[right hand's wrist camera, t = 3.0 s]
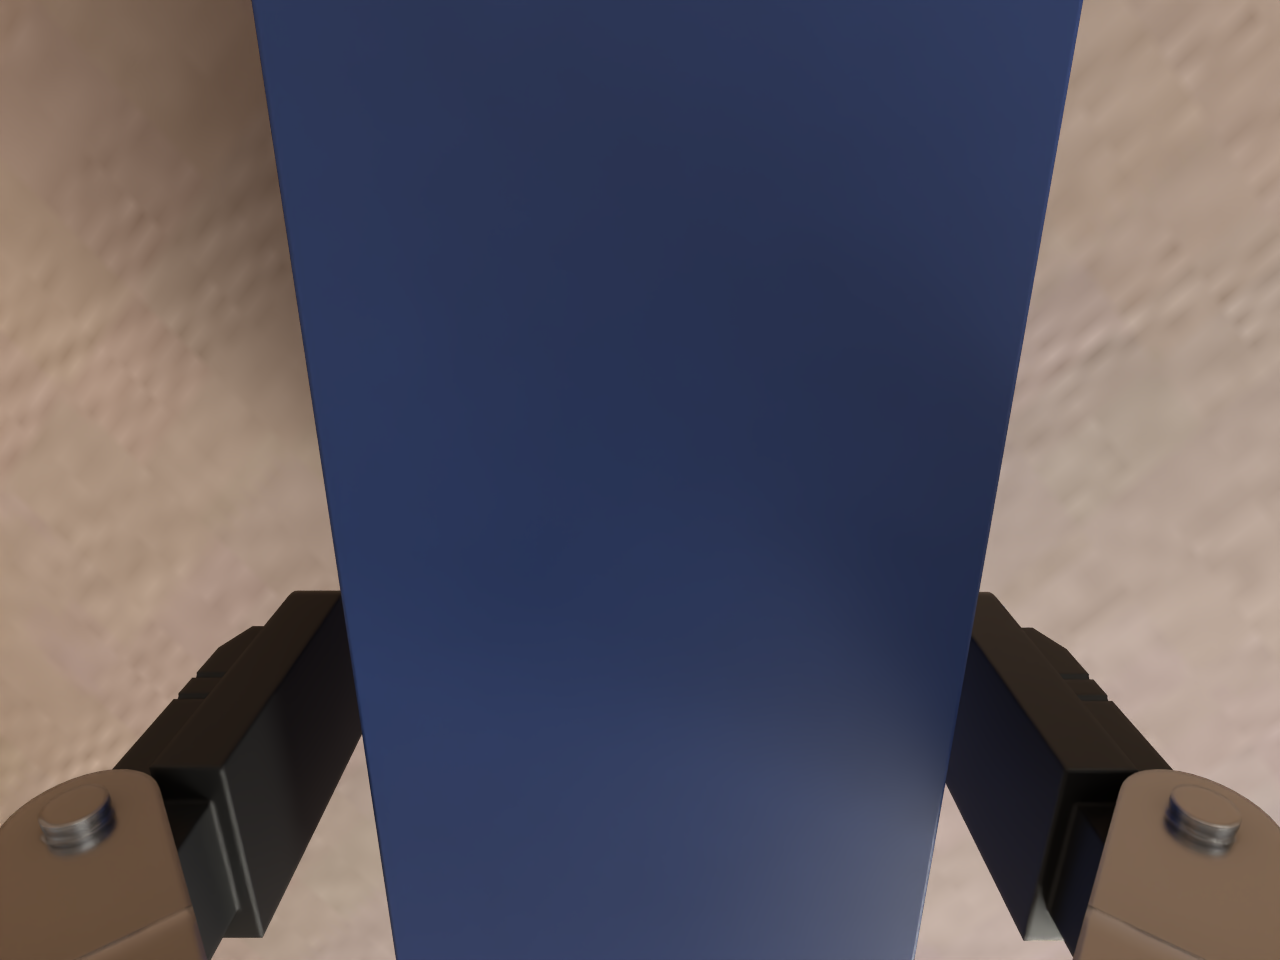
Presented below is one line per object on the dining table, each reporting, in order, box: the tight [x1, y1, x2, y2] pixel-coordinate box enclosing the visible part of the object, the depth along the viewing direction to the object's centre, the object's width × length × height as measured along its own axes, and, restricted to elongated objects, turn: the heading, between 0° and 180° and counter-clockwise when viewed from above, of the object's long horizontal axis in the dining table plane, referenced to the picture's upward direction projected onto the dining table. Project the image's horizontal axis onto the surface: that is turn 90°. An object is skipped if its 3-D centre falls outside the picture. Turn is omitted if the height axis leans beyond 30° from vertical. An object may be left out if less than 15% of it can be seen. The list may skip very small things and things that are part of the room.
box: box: [252, 0, 1083, 960], centre depth 11 cm, size 22×6×11 cm, turn 0°
